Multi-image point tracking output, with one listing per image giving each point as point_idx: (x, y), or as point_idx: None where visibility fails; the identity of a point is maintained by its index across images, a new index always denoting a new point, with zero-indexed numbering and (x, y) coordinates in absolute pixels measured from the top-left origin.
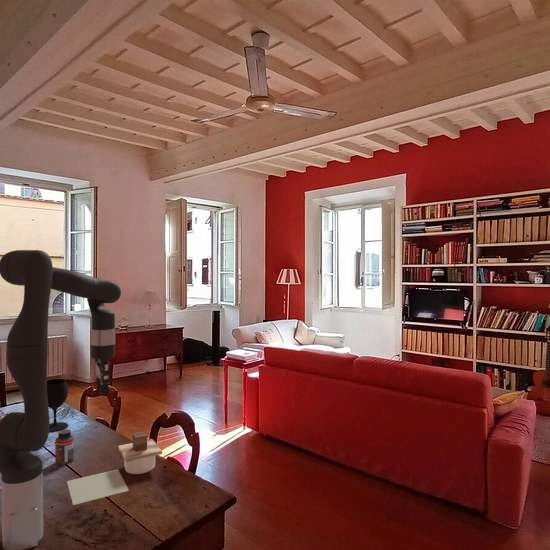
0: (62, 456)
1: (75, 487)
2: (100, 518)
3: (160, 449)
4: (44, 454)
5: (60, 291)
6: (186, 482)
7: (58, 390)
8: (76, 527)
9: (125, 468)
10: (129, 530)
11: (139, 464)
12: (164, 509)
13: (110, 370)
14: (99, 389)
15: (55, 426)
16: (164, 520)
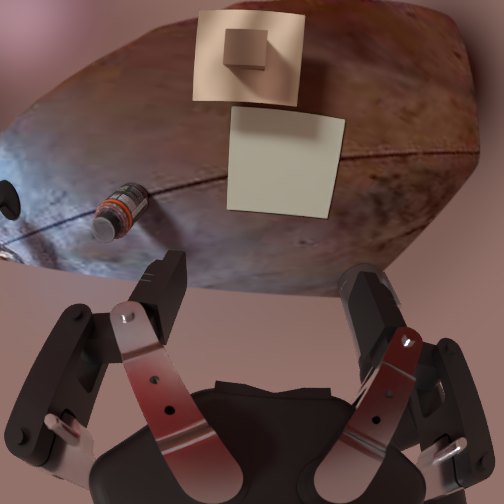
0: (141, 212)
1: (264, 201)
2: (389, 192)
3: (290, 14)
4: None
5: None
6: (376, 21)
7: None
8: (384, 226)
9: None
10: (441, 172)
11: None
12: (432, 104)
13: (486, 423)
14: (185, 274)
15: (8, 201)
16: (453, 122)
